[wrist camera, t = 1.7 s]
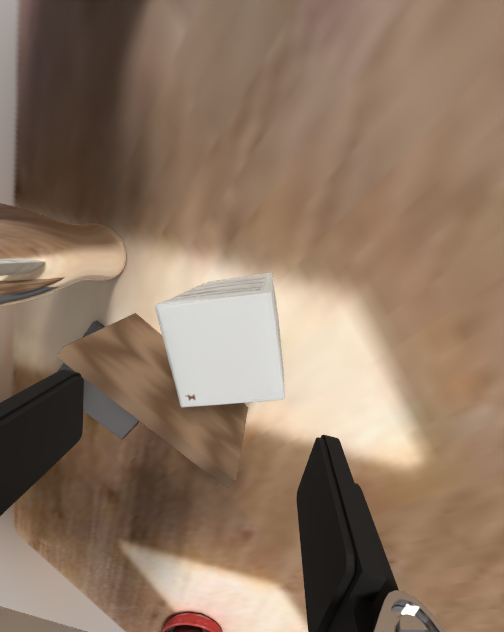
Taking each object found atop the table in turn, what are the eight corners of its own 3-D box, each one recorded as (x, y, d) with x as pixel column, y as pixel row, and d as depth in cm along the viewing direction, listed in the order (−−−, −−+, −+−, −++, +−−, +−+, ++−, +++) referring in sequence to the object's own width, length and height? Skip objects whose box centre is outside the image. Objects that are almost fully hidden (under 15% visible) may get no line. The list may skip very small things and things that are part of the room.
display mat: (51, 382, 32) (48, 384, 31) (96, 320, 29) (93, 322, 28) (123, 436, 33) (121, 439, 33) (173, 383, 30) (172, 385, 30)
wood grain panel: (129, 320, 28) (56, 356, 19) (135, 313, 28) (63, 346, 18) (241, 413, 30) (227, 488, 21) (247, 407, 30) (236, 481, 21)
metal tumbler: (91, 292, 28) (-105, 339, 13) (59, 233, 26) (-202, 215, 12) (141, 271, 27) (-15, 297, 12) (110, 208, 25) (-110, 153, 11)
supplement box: (281, 335, 27) (287, 404, 15) (218, 341, 28) (176, 411, 16) (274, 270, 25) (274, 290, 13) (206, 279, 26) (149, 305, 14)
